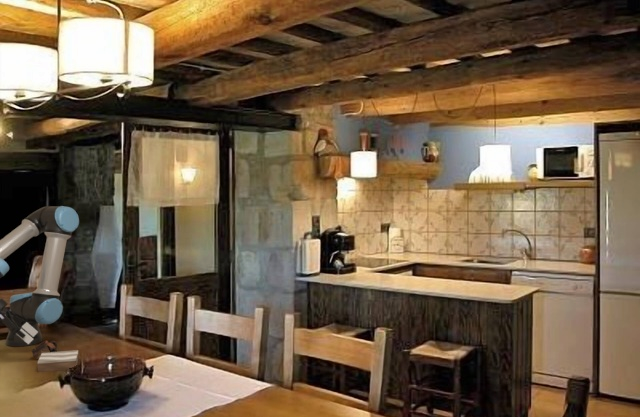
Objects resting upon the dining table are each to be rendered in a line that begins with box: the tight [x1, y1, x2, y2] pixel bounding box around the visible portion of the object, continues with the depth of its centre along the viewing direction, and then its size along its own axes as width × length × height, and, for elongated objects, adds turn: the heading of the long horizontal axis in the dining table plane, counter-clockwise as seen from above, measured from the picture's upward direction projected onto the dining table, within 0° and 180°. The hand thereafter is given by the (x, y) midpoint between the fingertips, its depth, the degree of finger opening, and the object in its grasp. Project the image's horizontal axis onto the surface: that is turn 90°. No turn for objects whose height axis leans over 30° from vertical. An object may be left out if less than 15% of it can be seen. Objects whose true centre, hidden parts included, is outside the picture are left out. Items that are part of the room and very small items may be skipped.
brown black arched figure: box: [31, 340, 58, 359], centre depth 259 cm, size 12×10×8 cm
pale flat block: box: [37, 349, 80, 373], centre depth 246 cm, size 14×14×4 cm
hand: (33, 338), depth 257 cm, fingers open, 13 cm apart
